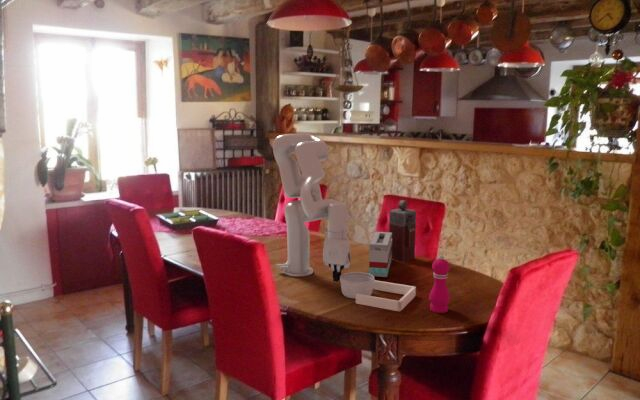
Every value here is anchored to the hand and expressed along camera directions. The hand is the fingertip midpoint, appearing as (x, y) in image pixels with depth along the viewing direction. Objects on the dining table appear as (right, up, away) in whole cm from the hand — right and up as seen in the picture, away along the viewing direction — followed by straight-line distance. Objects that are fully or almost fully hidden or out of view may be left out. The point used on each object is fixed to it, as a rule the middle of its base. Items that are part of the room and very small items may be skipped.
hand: (336, 280), depth 203 cm
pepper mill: (+36, -8, -18) cm, 41 cm away
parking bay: (+18, -6, -8) cm, 20 cm away
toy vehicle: (+21, +1, +29) cm, 36 cm away
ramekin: (+8, -5, -3) cm, 10 cm away
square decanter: (+33, +3, +44) cm, 55 cm away
